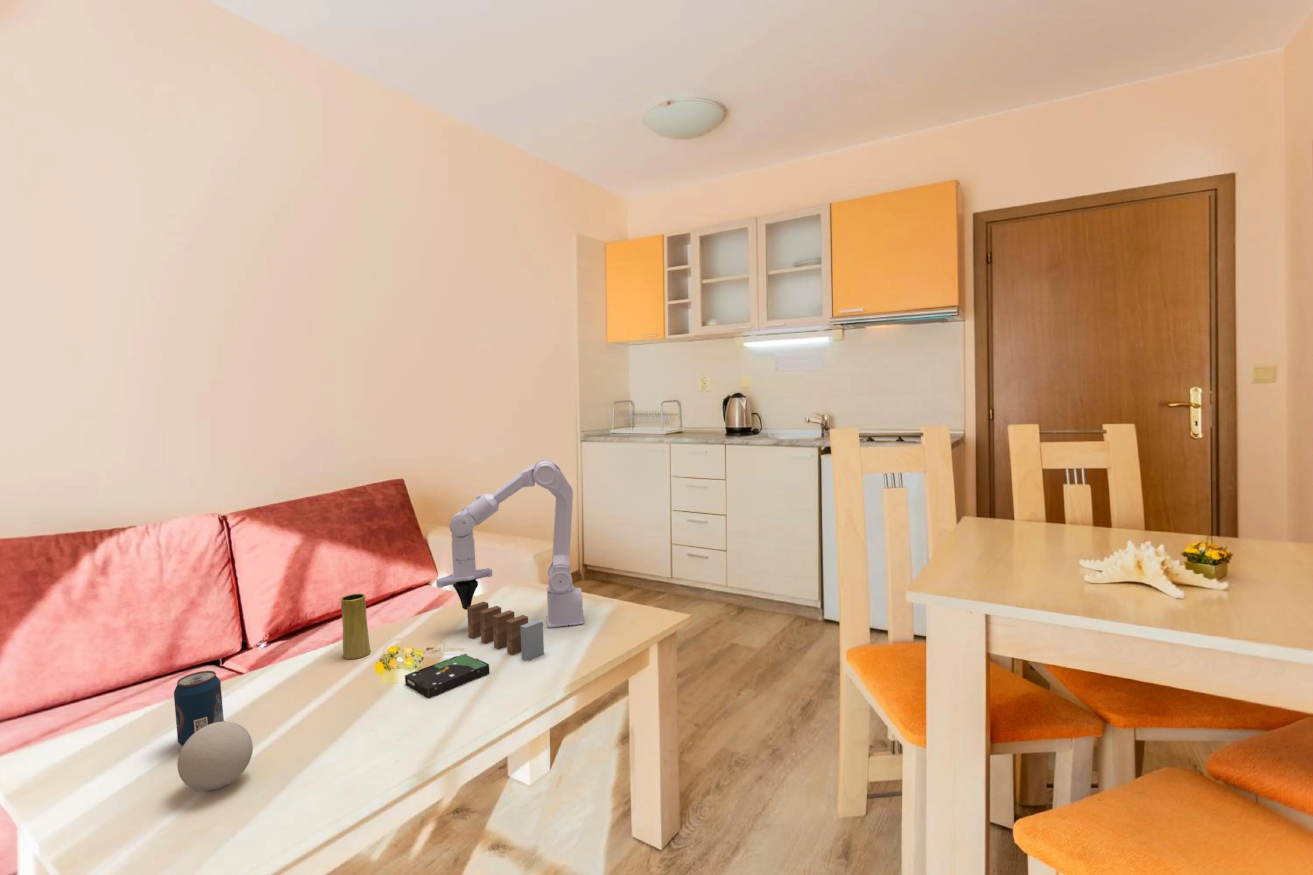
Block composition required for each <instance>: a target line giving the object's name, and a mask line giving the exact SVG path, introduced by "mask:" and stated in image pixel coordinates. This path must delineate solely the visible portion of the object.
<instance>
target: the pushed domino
mask: <svg viewBox="0 0 1313 875" xmlns="http://www.w3.org/2000/svg"><path fill="white" fill-rule="evenodd" d="M488 608H490V606H489V602H486V601H481V602H478V603H475V604H471V606H468V607H467V613H466V614H467V629H468V630H467V631H468V632H467V633H468V638H470V639H472V640H474V639H477V638H481V630H480V611H482V610H485V609H488Z"/></svg>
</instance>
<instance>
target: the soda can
mask: <svg viewBox="0 0 1313 875" xmlns="http://www.w3.org/2000/svg"><path fill="white" fill-rule="evenodd" d="M173 698H174V699H173V700H174V710H175V711H174V712H175V723H176V733H177V743H178V744H179V745H180V746H181V747H183V745H184V744H185V743H186V741H187V740H188V739H189V738H190V737H191V736H192V735H193V734H194V733H195V732H196V731H198V730H199V729H201V728H203V727H205V726H207V725H209V724H212V723H216V722H225V721H224V709H223V708H224V707H223V706H224V705H223V696H222V685H221V680H220V678H219V677H218V676H217V672H215V671H213V670H202V671H201V670H200V671H196V672H193V673H189V674H187V675H184V676H183V677H181V678H179V679H178V680H177V682H176V686H175V689H174V690H173Z"/></svg>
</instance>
